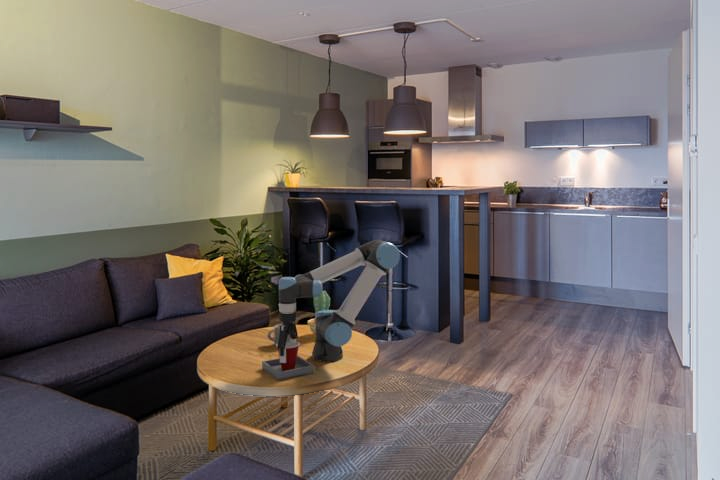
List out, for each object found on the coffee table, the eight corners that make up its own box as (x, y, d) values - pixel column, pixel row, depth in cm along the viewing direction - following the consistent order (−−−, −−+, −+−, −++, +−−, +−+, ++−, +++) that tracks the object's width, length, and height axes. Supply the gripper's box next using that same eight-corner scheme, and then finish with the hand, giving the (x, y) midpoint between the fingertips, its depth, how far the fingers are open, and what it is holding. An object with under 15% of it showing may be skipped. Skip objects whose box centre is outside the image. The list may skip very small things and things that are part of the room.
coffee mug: (296, 342, 294) (296, 324, 293) (291, 348, 284) (290, 329, 283) (271, 341, 296) (271, 322, 295) (265, 346, 286) (265, 327, 285)
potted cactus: (338, 332, 313) (338, 289, 310) (330, 340, 298) (330, 294, 295) (312, 330, 316) (312, 287, 314) (303, 338, 301) (303, 293, 299)
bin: (296, 362, 263) (296, 354, 262) (314, 373, 248) (314, 365, 248) (262, 368, 253) (262, 361, 253) (278, 380, 239) (278, 372, 238)
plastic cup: (290, 363, 258) (290, 338, 257) (304, 369, 250) (304, 343, 249) (271, 369, 251) (270, 343, 249) (285, 375, 243) (285, 348, 241)
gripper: (289, 304, 260) (289, 348, 263) (269, 318, 236) (270, 366, 239) (304, 305, 259) (304, 349, 261) (285, 319, 235) (286, 367, 237)
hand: (288, 357), depth 250 cm, fingers open, 13 cm apart
